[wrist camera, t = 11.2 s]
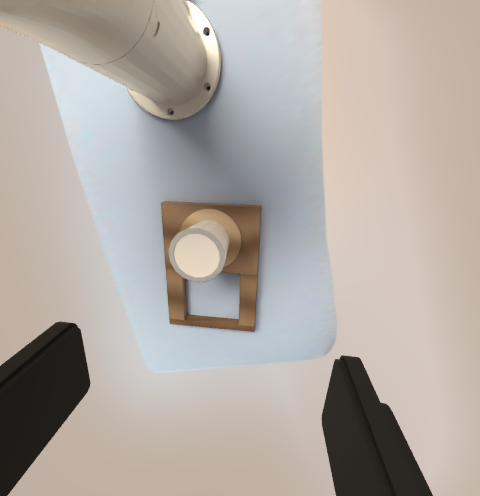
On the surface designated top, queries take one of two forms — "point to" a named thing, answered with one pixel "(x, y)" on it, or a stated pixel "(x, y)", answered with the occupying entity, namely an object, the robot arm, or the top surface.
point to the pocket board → (237, 260)
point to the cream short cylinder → (199, 251)
